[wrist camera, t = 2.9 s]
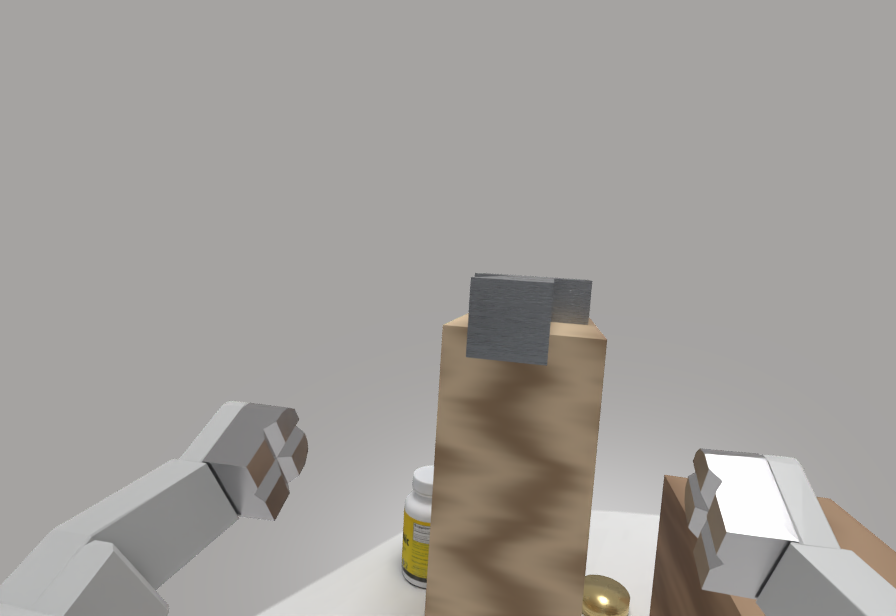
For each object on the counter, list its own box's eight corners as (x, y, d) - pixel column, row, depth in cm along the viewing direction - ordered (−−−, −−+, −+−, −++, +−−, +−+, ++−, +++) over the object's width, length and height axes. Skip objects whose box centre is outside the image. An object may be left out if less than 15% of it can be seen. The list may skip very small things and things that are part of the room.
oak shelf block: (416, 740, 29) (442, 325, 27) (458, 600, 42) (478, 308, 40) (565, 782, 28) (606, 339, 25) (562, 622, 40) (589, 317, 38)
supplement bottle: (408, 551, 49) (414, 459, 48) (460, 559, 48) (467, 466, 47) (393, 585, 44) (399, 482, 43) (451, 595, 43) (458, 490, 42)
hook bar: (619, 373, 17) (627, 288, 16) (402, 350, 18) (406, 272, 18) (583, 318, 37) (587, 280, 37) (482, 310, 39) (485, 273, 39)
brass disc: (577, 621, 41) (579, 602, 41) (575, 588, 45) (576, 570, 45) (631, 633, 40) (633, 613, 40) (624, 598, 44) (625, 580, 44)
